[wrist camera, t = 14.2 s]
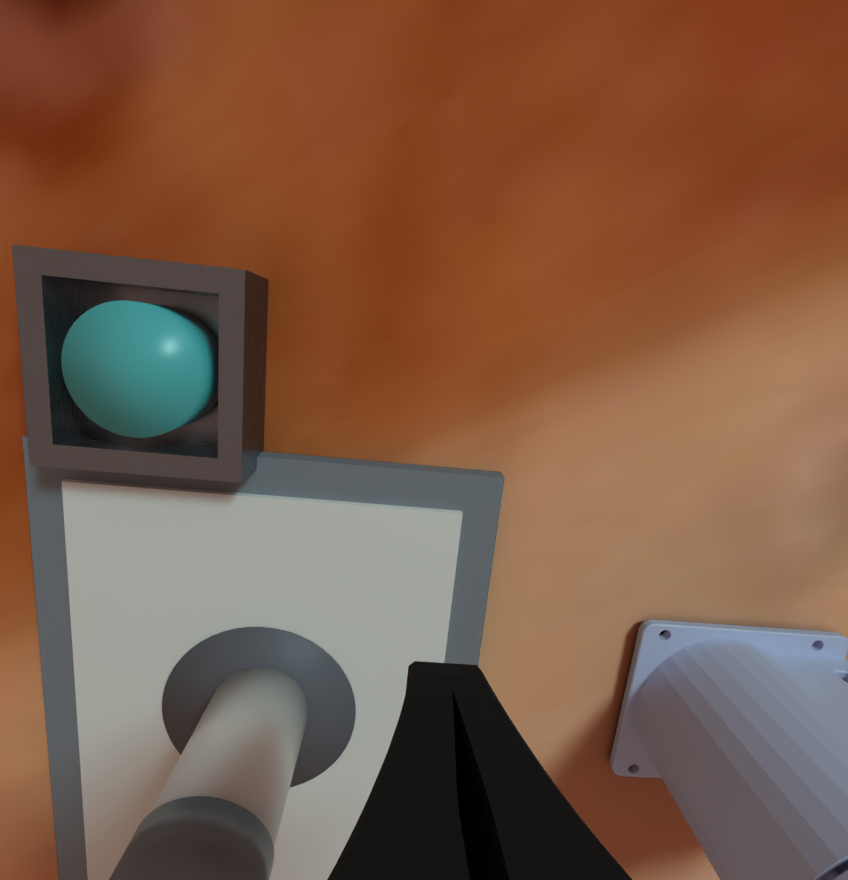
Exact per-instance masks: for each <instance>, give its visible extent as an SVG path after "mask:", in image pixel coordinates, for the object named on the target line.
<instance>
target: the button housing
mask: <svg viewBox="0 0 848 880" xmlns="http://www.w3.org/2000/svg"><path fill="white" fill-rule="evenodd" d="M12 252H13V264H14V277H15V289H16V302H17V314H18V327H19V339H20V352H21V364H22V376H23V389H24V401H25V414H26V426H27V439H28V451H29V464H30V466H43V467H55V468H67V469H79V470H91V471H103V472H116V473H128V474H140V475H152V476H164V477H176V478H189V479H201V480H213V481H225V482H237V483H242V482H243V481H244V480H245V479H246V478H247V477H249V476H250V475H251V474H252V473H253V472H254V471H255V470H257V456H258V455H260V454H261V453H262V452H263V447H264V411H265V376H266V341H267V305H268V279H266V278H263V277H261V276H258V275H256V274H254V273H251V272H249V271H247V270H241V269H232V268H223V267H214V266H204V265H195V264H186V263H177V262H167V261H158V260H149V259H140V258H130V257H121V256H112V255H103V254H93V253H84V252H75V251H66V250H56V249H47V248H38V247H29V246H19V245H12ZM120 300H122V301H135V302H143V303H150V304H158V305H165V306H171V307H174V308H177V309H180V310H182V311H185V312H187V313H188V314H190V315H192V316H193V317H195V318H196V319H198V320H199V321H200V322H201V323H202V324H203V325H204V326H205V327H206V328H207V329H208V330H209V331H210V332H211V334H212V335H213V336H214V338H215V340H216V341H217V343H218V345H219V375H218V400H217V402H216V404H215V405H214V406H213V408H212V409H211V410H210V411H209V412H208V413H207V414H205V415H204V416H203V417H201V418H200V419H198V420H196V421H194V422H192V423H189V424H187V425H184V426H182V427H179V428H177V429H174V430H172V431H169V432H167V433H164V434H161V435H158V436H154V437H146V438H133V437H127V436H122V435H119V434H116V433H113V432H111V431H108V430H106V429H104V428H103V427H101V426H99V425H98V424H96V423H95V422H93V421H92V420H91V419H90V418H88V417H87V416H86V415H85V414H84V413H83V412H82V411H81V410H80V408H79V407H78V406H77V405H76V403H75V402H74V400H73V399H72V397H71V395H70V393H69V391H68V389H67V387H66V384H65V381H64V377H63V373H62V366H61V355H62V348H63V344H64V341H65V338H66V336H67V333H68V331H69V330H70V328H71V327H72V325H73V323H74V322H75V321H76V320H77V319H78V318H79V317H80V316H81V315H82V314H84V313H85V312H86V311H88V310H89V309H91V308H93V307H95V306H97V305H100V304H102V303H106V302H111V301H120Z"/></svg>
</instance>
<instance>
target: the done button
mask: <svg viewBox="0 0 848 880" xmlns="http://www.w3.org/2000/svg"><path fill="white" fill-rule="evenodd" d="M61 366H62V373H63V377H64V381H65V384H66V387H67V389H68V391H69V393H70V395H71V397H72V399H73V400H74V402H75V403H76V405H77V406H78V407H79V408H80V410H81V411H82V412H83V413H84V414H85V415H86V416H87V417H88V418H90V419H91V420H92V421H93V422H95V423H96V424H98V425H99V426H101V427H103V428H104V429H106V430H108V431H111V432H113V433H116V434H119V435H122V436H127V437H133V438H146V437H154V436H158V435H161V434H164V433H167V432H169V431H172V430H174V429H177V428H179V427H182V426H184V425H187V424H189V423H192V422H194V421H196V420H198V419H200V418H201V417H203V416H204V415H205V414H207V413H208V412H209V411H210V410H211V409H212V408H213V406H214V405H215V404H216V402H217V400H218V375H219V345H218V343H217V341H216V340H215V338H214V336H213V335H212V334H211V332H210V331H209V330H208V329H207V328H206V327H205V326H204V325H203V324H202V323H201V322H200V321H199V320H198V319H196V318H195V317H193V316H192V315H190V314H188V313H187V312H185V311H182V310H180V309H177V308H174V307H171V306H165V305H158V304H150V303H143V302H135V301H122V300H120V301H111V302H106V303H102V304H100V305H97V306H95V307H93V308H91V309H89V310H88V311H86V312H85V313H84V314H82V315H81V316H80V317H79V318H78V319H77V320H76V321H75V322H74V323H73V325H72V327H71V328H70V330H69V331H68V333H67V336H66V338H65V341H64V344H63V348H62V355H61Z"/></svg>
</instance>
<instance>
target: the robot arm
mask: <svg viewBox="0 0 848 880" xmlns="http://www.w3.org/2000/svg"><path fill="white" fill-rule="evenodd" d="M663 630H666V631H665V633H664V634H662V635H659V634H660V632H662V631H663ZM814 642H815V643H814ZM813 643H814V644H813ZM847 652H848V639H846V638H845V637H844V636H842V635H841V634H839V633H836V632H824V631H810V630H795V629H781V628H766V627H752V626H737V625H723V624H708V623H694V622H679V621H665V620H647V621H645V622H643V623H642V624H641V625H640V627H639V630H638V635H637V639H636V644H635V648H634V653H633V657H632V662H631V666H630V671H629V676H628V680H627V685H626V689H625V694H624V698H623V703H622V707H621V712H620V717H619V721H618V726H617V730H616V735H615V739H614V744H613V748H612V753H611V758H610V766H611V768H612V770H613V772H614V774H616V775H617V776H623V777H644V778H662V780H663V782H664V784H665V785H666V787H667V789H668V790H669V792H670V794H671V796H672V797H673V799H674V801H675V803H676V804H677V806H678V808H679V809H680V811H681V813H682V815H683V816H684V818H685V820H686V822H687V823H688V825H689V827H690V828H691V830H692V832H693V834H694V835H695V837H696V839H697V840H698V842H699V844H700V846H701V847H702V849H703V851H704V853H705V854H706V856H707V858H708V859H709V861H710V863H711V865H712V866H713V868H714V870H715V872H716V873H717V875H718V877H719V878H720V880H848V661H847V660H845V658H846V655H847ZM631 765H632V766H631ZM327 880H632V879H631V878H630V877H629V875H628V874H627V873H626V872H625V871H624V870H623V868H622V867H621V866H620V865H619V864H618V863H617V861H616V860H615V859H614V858H613V857H612V856H611V854H610V853H609V852H608V851H607V850H606V849H605V847H604V846H603V845H602V844H601V843H600V841H599V840H598V839H597V838H596V837H595V835H594V834H593V833H592V832H591V830H590V829H589V828H588V827H587V825H586V824H585V823H584V822H583V820H582V819H581V818H580V817H579V815H578V814H577V813H576V812H575V810H574V809H573V808H572V806H571V805H570V804H569V802H568V801H567V800H566V798H565V797H564V796H563V794H562V793H561V792H560V790H559V789H558V788H557V786H556V785H555V784H554V782H553V781H552V780H551V778H550V777H549V775H548V774H547V773H546V771H545V770H544V769H543V767H542V766H541V764H540V763H539V761H538V760H537V758H536V757H535V755H534V754H533V753H532V751H531V750H530V748H529V747H528V745H527V744H526V742H525V741H524V739H523V738H522V736H521V735H520V733H519V732H518V730H517V729H516V727H515V726H514V724H513V723H512V721H511V719H510V718H509V716H508V715H507V713H506V711H505V710H504V708H503V707H502V705H501V703H500V702H499V700H498V698H497V697H496V695H495V693H494V692H493V690H492V688H491V687H490V685H489V683H488V681H487V680H486V678H485V676H484V674H483V673H482V671H481V670H480V668H479V667H478V666H477V665H470V664H454V663H438V662H421V661H414V662H413V663H412V664H410V665H409V666H408V675H407V684H406V694H405V698H404V702H403V706H402V710H401V713H400V717H399V720H398V723H397V726H396V728H395V731H394V734H393V737H392V740H391V743H390V746H389V749H388V752H387V754H386V757H385V759H384V762H383V764H382V766H381V769H380V771H379V774H378V776H377V778H376V781H375V783H374V786H373V788H372V790H371V793H370V795H369V797H368V800H367V802H366V804H365V806H364V808H363V810H362V813H361V815H360V817H359V819H358V821H357V823H356V825H355V827H354V829H353V831H352V833H351V835H350V837H349V839H348V841H347V843H346V845H345V847H344V849H343V851H342V853H341V855H340V857H339V859H338V861H337V863H336V865H335V867H334V868H333V870H332V872H331V874H330V876H329V877H328V879H327Z"/></svg>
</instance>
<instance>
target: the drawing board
mask: <svg viewBox="0 0 848 880" xmlns="http://www.w3.org/2000/svg"><path fill="white" fill-rule="evenodd" d="M22 438H23V450H24V462H25V475H26V487H27V499H28V511H29V523H30V535H31V547H32V559H33V571H34V584H35V596H36V608H37V620H38V632H39V644H40V656H41V668H42V681H43V693H44V705H45V717H46V729H47V741H48V753H49V765H50V777H51V790H52V802H53V814H54V826H55V838H56V850H57V862H58V874H59V880H109V879H110V877H111V875H112V873H113V872H114V870H115V868H116V866H117V864H118V862H119V861H120V859H121V857H122V855H123V853H124V852H125V850H126V848H127V846H128V844H129V842H130V841H131V839H132V837H133V835H134V833H135V832H136V830H137V828H138V826H139V825H140V823H141V822H142V821H143V819H144V818H145V817H146V816H147V815H148V814H149V813H150V811H151V809H152V807H153V806H154V804H155V802H156V800H157V798H158V796H159V795H160V793H161V791H162V789H163V787H164V785H165V783H166V782H167V780H168V778H169V776H170V774H171V772H172V771H173V769H174V767H175V765H176V763H177V761H178V759H179V758H180V756H181V754H182V752H183V750H184V748H185V747H186V745H187V743H188V741H189V739H190V737H191V735H192V734H193V732H194V730H195V728H196V726H197V724H198V723H199V721H200V719H201V717H202V715H203V713H204V711H205V710H206V708H207V706H208V704H209V702H210V700H211V699H212V697H213V695H214V693H215V691H216V689H217V688H218V686H219V685H220V684H221V683H222V682H223V681H224V680H225V679H226V678H227V677H228V676H230V675H232V674H233V673H236V672H238V671H241V670H244V669H249V668H268V669H273V670H276V671H279V672H281V673H284V674H285V675H287V676H289V677H290V678H292V679H293V680H294V681H295V682H296V683H297V684H298V685H299V686H300V687H301V688H302V690H303V692H304V693H305V696H306V698H307V701H308V707H309V713H308V719H307V723H306V727H305V730H304V734H303V738H302V742H301V746H300V750H299V754H298V757H297V761H296V765H295V769H294V773H293V777H292V780H291V784H290V788H289V792H288V796H287V800H286V803H285V807H284V811H283V815H282V819H281V823H280V827H279V830H278V834H277V838H276V842H275V846H274V862H273V866H272V870H271V874H270V878H269V880H327V879H328V877H329V876H330V874H331V872H332V870H333V868H334V867H335V865H336V863H337V861H338V859H339V857H340V855H341V853H342V851H343V849H344V847H345V845H346V843H347V841H348V839H349V837H350V835H351V833H352V831H353V829H354V827H355V825H356V823H357V821H358V819H359V817H360V815H361V813H362V810H363V808H364V806H365V804H366V802H367V800H368V797H369V795H370V793H371V790H372V788H373V786H374V783H375V781H376V778H377V776H378V774H379V771H380V769H381V766H382V764H383V762H384V759H385V757H386V754H387V752H388V749H389V746H390V743H391V740H392V737H393V734H394V731H395V728H396V726H397V723H398V720H399V717H400V713H401V710H402V706H403V702H404V698H405V694H406V684H407V675H408V666H409V665H410V664H412V663H413V662H414V661H421V662H438V663H454V664H470V665H477V666H478V661H479V654H480V647H481V640H482V633H483V626H484V618H485V611H486V604H487V597H488V590H489V583H490V576H491V569H492V562H493V555H494V548H495V541H496V534H497V526H498V519H499V512H500V505H501V498H502V491H503V484H504V477H503V475H502V474H501V472H494V471H483V470H471V469H460V468H448V467H436V466H425V465H413V464H402V463H390V462H378V461H367V460H355V459H344V458H332V457H320V456H309V455H297V454H286V453H274V452H262V453H261V454H260V455H258V456H257V470H255V471H254V472H253V473H252V474H251V475H250V476H249V477H247V478H246V479H245V480H244V481H243V482H242V483H237V482H225V481H213V480H201V479H189V478H176V477H164V476H152V475H140V474H128V473H116V472H103V471H91V470H79V469H67V468H55V467H43V466H30V464H29V451H28V439H27V435H26V436H22Z"/></svg>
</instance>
